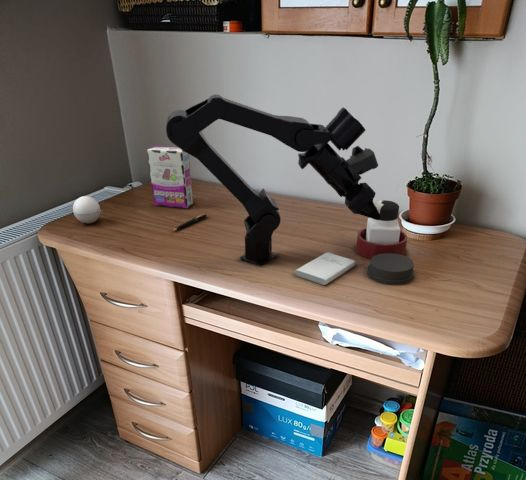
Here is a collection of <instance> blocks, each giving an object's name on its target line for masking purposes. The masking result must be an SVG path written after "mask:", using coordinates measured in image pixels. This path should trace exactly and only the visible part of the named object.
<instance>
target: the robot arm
mask: <svg viewBox="0 0 526 480" xmlns="http://www.w3.org/2000/svg"><path fill="white" fill-rule="evenodd" d="M218 120H222V121H224V122H228V123H230V124H233V125H237V126H240V127H243V128H246V129H250V130H251V131H252V130H253V131H255V132H259V133H261V134H264V135H267V136H270V137H273V138H274V139H275V140H277V141H279V142H280V143H282V144H283V145H285V146H287V147H288V148H291V149H292V150H294V151H296V152H299V153H298V154H297V156H298V161H297V164H298V166H299V168H300V169H301V170H304V169H305V168H306V167H307V166H308V165H309V166H311V167H312V168H313V170H314V171H316V173H317V174H319V176H320V177H321V178H322V179H323V180H324V181H325V182H326V183H327V185H328V186H330V187H331V188H332V189H333V190H334V191H335V192H336V194H337V195H338V196H339V197H340V198H342V197H344V205H345V206H346V208H347V209H348V210H350V212H351V213H352V214H353V215H360V216H363V217H366V218H372V219H375V220H379V219H380V218H381V215H380V214H379V212H378V210H377V208H376V206H375V204H374V203H375V202H374V198H375V197H376V194H377V192H375V190H374V189H373V188H372V187H371V186H370V185H369V184H368V183H367V182H360V180H361V179H362V176H361V175H364V174H365V173H368V172H369V171H371V170H375V169H377V168H378V167H379V162H378V159H377V156H376V153H375V152H374V151H373V150H372V149H371V148H367V147H365V148H364V149H363V148H362V147H360V146H359V145H356V146H354V147H353V148H352V149H351V155H350V156H349V158H348V159H345V158H344V157H343V156H340V155H339V154H338V152H337V151H336V150H335V149H334V148H333V147H332V146H331V145H330V144H329V143H331V144H333V146H334V147H335V148H336V149H337V150H338V151H341V150H342V151H348V150H349V149H350V147H352V145H353V144H354V143H356V141H357V140H358V139H359V138H360V137H361V136H362V135H363V134H364V133H365V132H366V131H367V130H366V128H365V127H364V125H363V124H362V123H361V122H360V121H359V120H358V119H357V118H355V117H354V116H353V115H352V114H351V112H349V110H347V108H346V107H341V108H340V109H339V111H337V114H336V115H335V116H334V117H333V118H332V119H331V120H330V121H329V123H328V124H326V126H325V125H324V124H317V123H310V122H309V120H307V119H306V118H303V117H297V116H291V115H276V114H272V113H270V112H266V111H263V110H261V109H258V108H254V107H251V106H248V105H245V104H242V103H240V102H237V101H234V100H231V99H228V98H225V97H223V96H222V95H220V94H217V93H216V94H212V95H210V96H208V98H206V99H205V100H202V101H200V102H198V103H196V104H193V105H192V106H189V108H187V109H185V110H184V109H177V110H174V111H172V112H171V113H170V114H169V115H168V117H167V120H166V125H165V133H166V137H167V139H168V140H169V141H170V142H171V143H172V144H173V145H174V146H176V148H180V149H182V150H183V151H184V152H186V153H188V154H189V156H191V157H193V158H195V159H196V160H198V161H199V162H200V163H201V164H202V165H203V166H204V168H206V170H208V171H209V172H210V173H211V175H212V176H214V177H215V179H217V180H218V182H220V183H221V184H222V185H223V186H224V188H226V189H227V191H229V192H230V194H231V195H232V196H233V197H235V198H236V199H237V201H239V202H240V203H241V204H242V206H243V208H244V209H245V211H246V212H247V214H248V216H246V217H245V218H244V219H243V223H244V224H243V225H244V227H245V231H246V233H245V236H244V255H242V256H240V261H244V262H247V263H250V264H253V265H256V266H260V267H262V266H264V265H266V264H267V263H269V262H270V261H272V260H274V259H276V258H277V254H275V253H273V250H272V248H273V247H272V242H273V237H272V236H273V234H274V231H276V230H277V229H278V228H279V227H280V224H281V215H280V213H279V210H280V208H279V206H278V203H277V201H276V199H275V198H273V197H271V196H270V195H269V194H268V192H267V191H266V189H265V188H262V189H261V190H260V192H259V191H257V190H255V188H252V187H251V186H250V184H249V183H247V181H246V180H245V179H244V178H243V177H242V176H241V175H240V174H239V173H238V172H237V171H236V170H235V168H233V167H232V165H231V164H230V163H228V161H227V160H226V159H225V158H224V157H223V156H222V155H221V154H220V153H219V152H218V151H217V150H216V148H214V147H213V146H212V145H211V144H210V142H209V141H208V139H207V137H206V136H205V134H204V133H203V130H205V129H207V128H208V127H209V126H210V125H212V124H213V123H214V122H216V121H218ZM359 182H360V183H359Z"/></svg>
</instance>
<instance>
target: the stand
mask: <svg viewBox="0 0 526 480" xmlns="http://www.w3.org/2000/svg"><path fill="white" fill-rule="evenodd" d="M414 266H415V261H413V260H412V259H411V258H410V257H408V256H406V255H404V256H403V255H399V254H393V253H384V254H378V255H375V256H373V257H372V258H371V259H369V265H368V266H367V269H366V274H367V276H368V278H369V279H371V280H373V282H377V283H379V284H384V285H392V286H399V285H400V286H401V285H405V284H408V283H410V282H411V281H413V280H414V277H415V270H414Z"/></svg>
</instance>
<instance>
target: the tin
mask: <svg viewBox="0 0 526 480" xmlns="http://www.w3.org/2000/svg"><path fill="white" fill-rule="evenodd" d="M366 231H367V227H365V228H362V229H360V230H359V231H358V232H357V235H356V236H357V237H356V245H355V251H356V252H357V254H358V255H359V256H361V257H363V258H364V259H369V260H371V258H372V257H373V256H375V255H378V254H384V253H393V254H399V255H403V256H406V250H407V242H408V235H407V233H405V231H402V230H400V236H399V243H396V244H376V243H372V242H368V241H366Z"/></svg>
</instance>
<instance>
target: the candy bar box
mask: <svg viewBox="0 0 526 480" xmlns="http://www.w3.org/2000/svg"><path fill="white" fill-rule="evenodd" d="M146 153H147V160H148V161H147V162H148V168H149V176H150V183H151V189H152V197H153V205H154V206H156V207H163V208H164V207H165V208H175V209H188V208H190V207H191V206H193V205H194V196H193V195H194V194H193V185H192V175H191V173H192V172H191V164H190V163H191V162H190V154H188V153H186V152H184V151H183V150H182V149H180V148H179V147H171V146H152V147H150V148H148V149H146Z"/></svg>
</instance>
